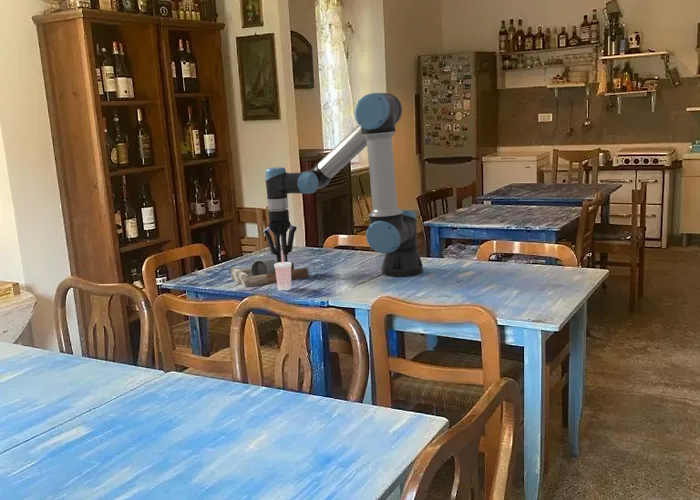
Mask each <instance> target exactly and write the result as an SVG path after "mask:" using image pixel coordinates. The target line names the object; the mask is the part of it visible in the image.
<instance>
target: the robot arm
mask: <svg viewBox="0 0 700 500" xmlns="http://www.w3.org/2000/svg"><path fill="white" fill-rule="evenodd" d="M402 115H403V106H402V103H401V100H400V99H399V98H398V97H397V96H395V95H394V94H392V93H388V92H383V93H382V92H372V93H368V94H366V95H363V96H362V97H361V98H360V99H359V100H358V101H357V103H356V106H355V109H354V117H355V121H356V122H357V124H358V125H356V127H354V129H352V131H350V133H348V134H347V135H346V136H345V137H344V138H343V139H342V140H341V141H339V143H338V144H337V145H336V146H335V147H334V148H333V149H332V150H330V152H329V153H327V154H326V155H325V156H324V157H323V158H322V159H321V160H320V161H319V162H318V163H317V164H316V165H315V166H314V167H312V169H310V170H306V171H301V172H287V170H286V168H285V166H284V167H282V166H280V167H279V166H277V167H275V166H274V167H268V168H266V169H265V179H264V181H265V188H266V197H267V198H266V200H267V201H266V202H267V209H268V212H267V213H268V215H267V217H268V224H267V227H266V228H265V229H262V233H263V234H264V235H265V237H266V242H267V244H268V248H269V251H270V253H271V254H272V255H274V256H275V255H276V257H275V258H276V263H279V262H282V256H281V249H282V251H283V262H289V261H288V255H289V253H292V251H293V247H294V246H293V245H294V239H295V233H296V230H297V229H298V228H297V226H295V225H292V224H291V221H290V213H289V211H290V210H289V209H288V208H289V201H288V200H289V199H288V195H289V194H303V195H307V194H315V192H316V191H317V190H322V189H323V188H325V187H327V186H328V185H329V183H330V181H331V180H332V178H333V177H335V176H336V175H337V174H338V173H339V172H340V171H342V169H344V168H345V166H346V165H348V164H349V163H350V162H351V161H352V160H353V159H355V158H356V156H357V155H359V154H360V153H361V152H362V151H364V149H365V148H367V149H366V150H367V159H368V171H369V182H370V192H371V193H370V194H371V202H372V203H371V205H372V209H371V212H370V213H369V214H368V218H369V219H368V220H369V226H368V227H367V230H366V234H365V238H366V242H367V244H368V246H369V247H370V248H371V249H372V251H374V252H376V253H378V254H384V258H383V261H382V265H381V273H382V274H383V275H384V276H387V277H388V276H389V277H409V276H410V277H412V276H415V275H420V274H422V273H423V272H424V265H423V263H422V260H421V256H420V254H419V251H418V229H417V228H418V226H417V221H418V219H417V214H416V211H414V210H407V209H406V210H403V209H402V210H401V209H400V208H399V207H398V197H397V186H396V185H397V184H396V183H397V182H396V173H395V163H394V161H395V160H394V151H393V139H392V138H393V137H394V135H395V134H396V133H397V132H396V125H397V123H398V122H399V121H400V120H401V118H402ZM288 230H289V232H288ZM271 232H272V234H273V238H274V241H273V238H272V235H271ZM287 232H288V237H287Z"/></svg>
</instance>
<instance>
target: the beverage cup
mask: <svg viewBox="0 0 700 500" xmlns="http://www.w3.org/2000/svg"><path fill="white" fill-rule="evenodd" d="M281 256H282V262H279V263H277V262H276V263H275V264H274V267H275V272H276V279H277V282H276V285H277V290H278V291H280V290H286V291H290V290H291V289H292V279H291V266H292V265H291V264H292V263H291V262H292V261H288V262H283V251H282V248H281Z"/></svg>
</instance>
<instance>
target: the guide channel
mask: <svg viewBox="0 0 700 500" xmlns="http://www.w3.org/2000/svg"><path fill="white" fill-rule="evenodd" d="M290 262H291V263H292V264H291V265H292V266H291V280H296V279H302V278H308V277H309V269H308V268H306V267H304V268H295V266H294V264H295V263H294V262H293V261H290ZM230 273H231V279H232V280H234V281H235V282H236V283H238V284H240V285H242V286H244V287H246V288H247V286H248V287H252V286H253V285H254V286H259V285H258V284H260V285H265V284H264V283H266V284H271V283H270V282H272V283H277V279H276V273H270V274H263V275H257V276H250V277H249V274H250V273H251V267H248V268H240V269H238V268H237V267H232V268H231V271H230Z"/></svg>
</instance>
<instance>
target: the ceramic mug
mask: <svg viewBox="0 0 700 500" xmlns="http://www.w3.org/2000/svg"><path fill="white" fill-rule="evenodd" d="M275 263H277V260H275V259H274V258H271V257H270V258H268V257H267V258H261V259H257V260H254V262H252V264H251V267H250V268H251V273H250V274H249V277H250V276H257V275H263V274H270V273H276V272H275V267H274V264H275Z"/></svg>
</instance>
